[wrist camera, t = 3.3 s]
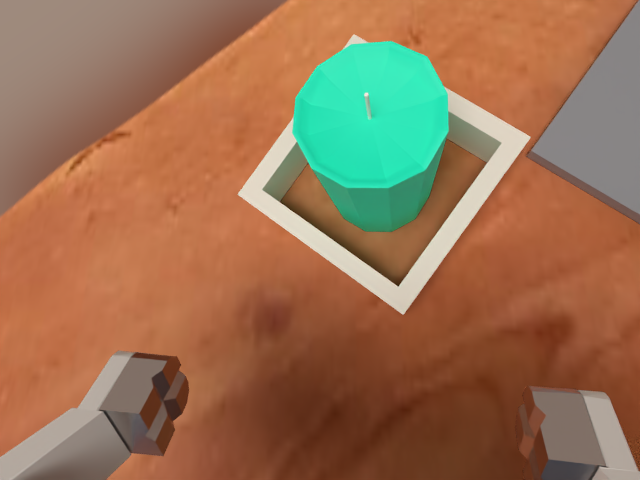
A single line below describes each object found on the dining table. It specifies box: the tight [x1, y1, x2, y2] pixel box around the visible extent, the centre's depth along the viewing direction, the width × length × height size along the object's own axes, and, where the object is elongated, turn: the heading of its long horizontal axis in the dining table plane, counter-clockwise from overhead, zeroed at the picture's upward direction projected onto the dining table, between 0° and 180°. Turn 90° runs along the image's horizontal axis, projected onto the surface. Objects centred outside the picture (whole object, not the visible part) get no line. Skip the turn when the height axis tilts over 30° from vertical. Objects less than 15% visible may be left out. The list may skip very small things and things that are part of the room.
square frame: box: [238, 35, 531, 315], centre depth 25 cm, size 11×11×4 cm
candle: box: [292, 41, 449, 232], centre depth 21 cm, size 6×6×12 cm
